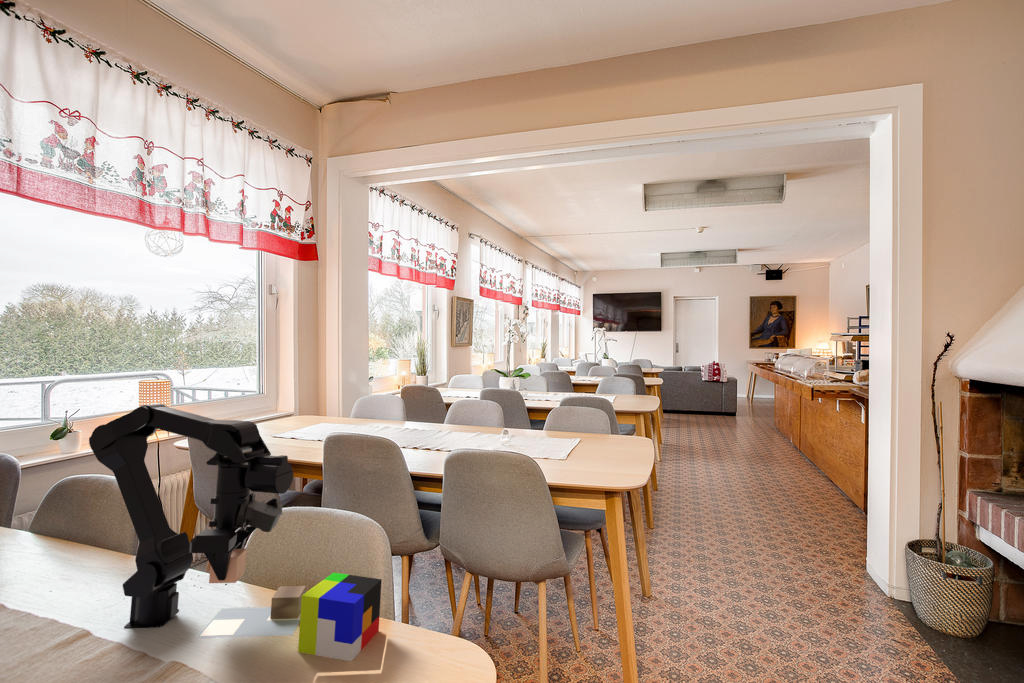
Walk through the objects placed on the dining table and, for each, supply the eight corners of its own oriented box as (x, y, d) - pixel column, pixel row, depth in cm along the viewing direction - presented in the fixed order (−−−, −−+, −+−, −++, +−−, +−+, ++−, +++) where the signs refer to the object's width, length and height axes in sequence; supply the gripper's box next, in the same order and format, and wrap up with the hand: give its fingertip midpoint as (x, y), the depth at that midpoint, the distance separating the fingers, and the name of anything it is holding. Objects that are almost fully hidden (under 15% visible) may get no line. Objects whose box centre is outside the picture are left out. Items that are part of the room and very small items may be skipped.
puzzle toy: (350, 664, 83) (354, 603, 84) (297, 654, 85) (301, 595, 86) (378, 633, 93) (381, 579, 94) (330, 625, 95) (333, 572, 96)
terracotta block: (209, 583, 90) (210, 557, 90) (219, 573, 94) (221, 548, 94) (235, 582, 90) (237, 557, 91) (245, 572, 95) (246, 548, 95)
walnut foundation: (270, 619, 95) (271, 597, 96) (278, 606, 100) (279, 586, 101) (297, 618, 96) (299, 597, 96) (304, 605, 101) (305, 585, 101)
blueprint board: (195, 640, 88) (195, 638, 88) (222, 609, 99) (222, 606, 99) (292, 637, 90) (292, 634, 90) (308, 606, 102) (308, 604, 102)
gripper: (261, 503, 85) (255, 596, 84) (292, 478, 104) (287, 554, 103) (191, 503, 83) (184, 598, 83) (235, 478, 102) (230, 555, 101)
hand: (227, 574), depth 92 cm, fingers closed on terracotta block, 4 cm apart
